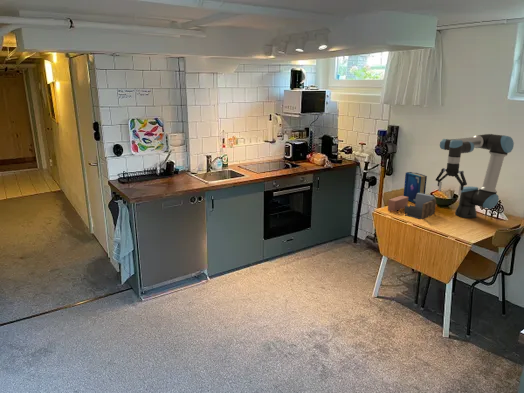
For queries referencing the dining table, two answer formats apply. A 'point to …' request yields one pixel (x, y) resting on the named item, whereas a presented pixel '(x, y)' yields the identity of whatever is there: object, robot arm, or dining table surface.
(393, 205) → the book box
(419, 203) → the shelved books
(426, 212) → the shelf wall
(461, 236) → the dining table surface
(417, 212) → the bookend
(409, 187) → the book
